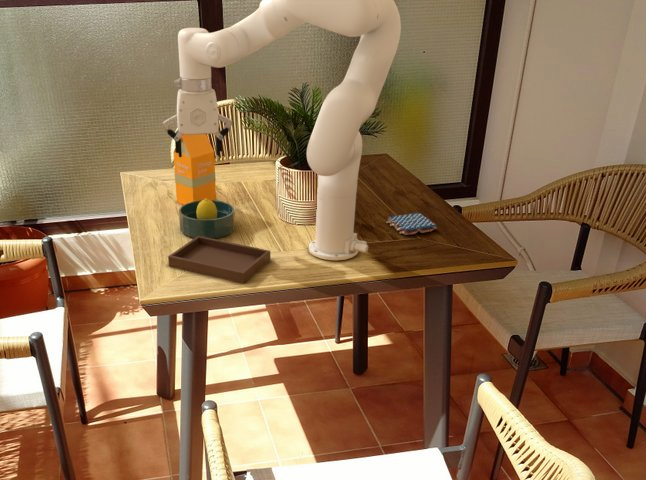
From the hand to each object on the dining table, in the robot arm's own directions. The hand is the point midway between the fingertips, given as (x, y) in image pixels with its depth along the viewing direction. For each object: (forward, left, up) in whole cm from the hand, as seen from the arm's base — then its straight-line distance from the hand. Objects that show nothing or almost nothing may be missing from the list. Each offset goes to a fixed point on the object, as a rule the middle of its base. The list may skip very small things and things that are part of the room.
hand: (199, 155), depth 186 cm
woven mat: (-50, -26, -20) cm, 60 cm away
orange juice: (+12, -16, -20) cm, 28 cm away
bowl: (-2, 0, -20) cm, 20 cm away
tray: (-15, +17, -20) cm, 30 cm away
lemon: (-2, 0, -19) cm, 19 cm away
